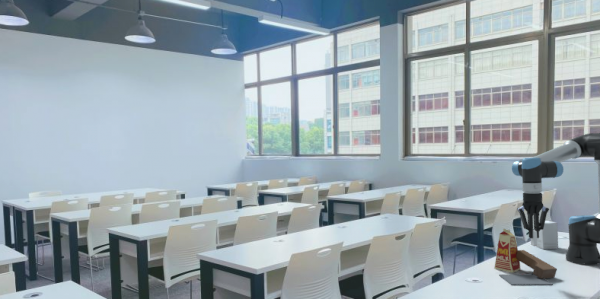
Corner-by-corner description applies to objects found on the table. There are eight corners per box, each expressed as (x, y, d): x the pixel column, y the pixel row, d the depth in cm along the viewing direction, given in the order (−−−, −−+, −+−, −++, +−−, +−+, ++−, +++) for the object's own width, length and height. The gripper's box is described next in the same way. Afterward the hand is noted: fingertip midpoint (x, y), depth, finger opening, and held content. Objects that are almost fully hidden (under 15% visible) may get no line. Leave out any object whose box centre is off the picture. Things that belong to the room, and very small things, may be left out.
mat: (537, 275, 194) (537, 274, 194) (552, 285, 180) (552, 283, 180) (499, 275, 195) (499, 274, 195) (511, 285, 181) (511, 284, 181)
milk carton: (512, 272, 199) (511, 230, 199) (493, 268, 206) (492, 228, 206) (521, 268, 205) (520, 227, 205) (502, 265, 212) (501, 225, 212)
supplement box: (559, 249, 240) (558, 222, 240) (543, 249, 240) (542, 223, 240) (549, 245, 249) (548, 220, 249) (534, 246, 249) (533, 220, 249)
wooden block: (543, 269, 185) (510, 250, 201) (540, 279, 186) (508, 258, 202) (557, 268, 189) (523, 249, 205) (554, 277, 190) (521, 258, 206)
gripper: (520, 193, 184) (522, 247, 184) (551, 192, 183) (553, 247, 183) (513, 191, 192) (515, 243, 191) (543, 191, 190) (545, 243, 190)
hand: (534, 245), depth 187 cm, fingers closed
